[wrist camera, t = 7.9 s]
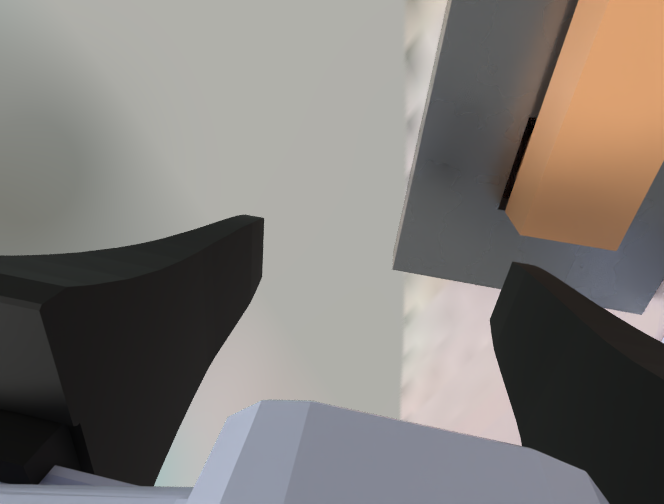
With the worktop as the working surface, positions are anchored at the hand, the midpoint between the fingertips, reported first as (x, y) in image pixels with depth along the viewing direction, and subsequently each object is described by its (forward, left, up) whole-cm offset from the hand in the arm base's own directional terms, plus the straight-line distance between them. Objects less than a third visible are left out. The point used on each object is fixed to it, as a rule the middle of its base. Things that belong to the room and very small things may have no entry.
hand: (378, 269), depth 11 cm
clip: (+6, -7, -9) cm, 13 cm away
